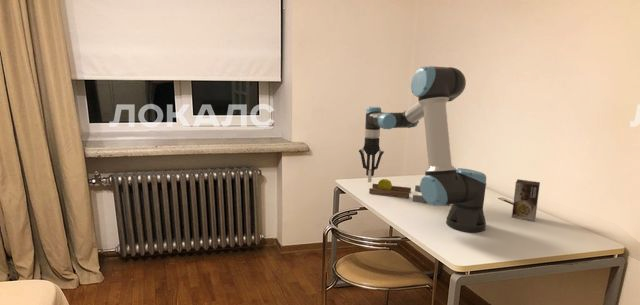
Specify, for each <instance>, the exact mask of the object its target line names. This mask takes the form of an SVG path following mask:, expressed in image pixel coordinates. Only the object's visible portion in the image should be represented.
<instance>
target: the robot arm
mask: <svg viewBox="0 0 640 305" xmlns="http://www.w3.org/2000/svg"><path fill="white" fill-rule="evenodd" d="M466 83H467V79H466V76H465V75H464V73H463V72H462V71H461V70H459V69H458V68H456V67H453V66H451V67H446V66H432V65H430V66H421V67H420V68H417V69H416V71H415V72H414V74H413V76H412V78H411V82H410V91H411V93H412V95H414V96H415V97H416V98H418V101H417V102H415V103H414V104H412V105H411V106H410V107H409V108H408V109H406V110H404V111H403V112H383V111H382V108H381V107H379V106H367V107H366V111H365V123H364V124H365V125H364V126H365V127H364V128H365V129H364V136H365V137H364V142H363V143H364V145H363V147H362V148H361V149H358V152H359V154H360V158H361V164H362V168H363V169H365V170H366V171H365V172H366V174H365V175H366V176H367V183H371V182H372V180H373V179H372V178H373V177H374V175H375V170H378V168H379V164H380V162H381V159H382V156H383V155H384V153H385V151H384V150H382V149H381V147H380V135H381V132H380V131H381V129H384V130H391V129H397V128H398V129H403V128H406V129H407V128H408V129H410V128H417V126H418V124H419V122H420V120H421V119H423V120H424V129H425V130H424V131H425V132H424V133H425V142H426V151H427V152H426V154H427V164H428V167H427V168H426V169H425V171H424V175H425V176H423V177H422V178H421V179H420V183H419V186H420V190H421V192H420V195H421V196H423V198H424V199H425V200H426V201H427V202H428V203H427V204H429V205H431V206H447V205H446V204H449V205H452V206H451V208H450V209H449V211H448V214H447V216H446V221H445V223H446V225H447V226H448V227H450V228H452V229H454V230H457V231H460V232H465V233H481V232H484V231H485V230H486V227H487V223H486V222H487V221H486V218H485V214H484V213H485V212H484V205H485V196H486V188H487V175H486V174H485V173H484V172H482V171H477V170H473V169H469V168H463V167H459V168H455V166H453V164H452V157H451V145H450V136H449V124H448V113H447V103H448V102H452V101H454V100H456V99H457V98H459V96H461V95H462V93H463V92H464V91H465V89H466ZM365 154H366V158H365ZM377 154H378V157H377V161H375V160H376V155H377ZM375 162H376V163H375ZM370 163H371V165H370ZM370 166H371V168H370Z"/></svg>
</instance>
